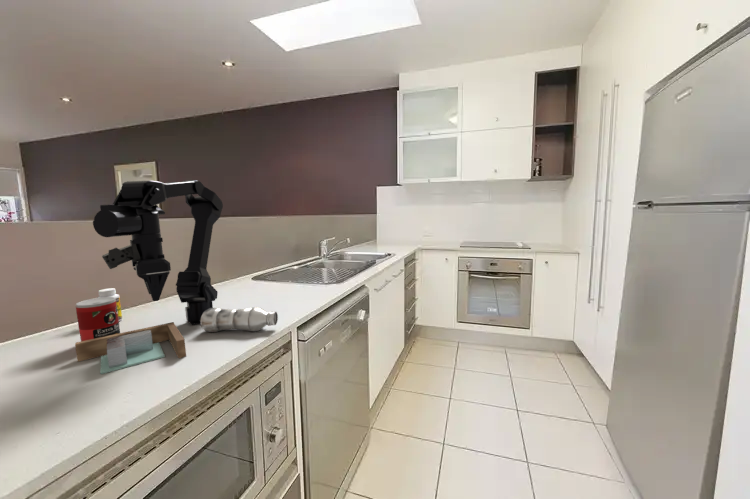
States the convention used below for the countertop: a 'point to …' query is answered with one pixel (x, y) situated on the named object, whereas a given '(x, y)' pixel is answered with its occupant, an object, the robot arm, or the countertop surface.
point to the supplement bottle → (112, 293)
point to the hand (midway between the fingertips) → (153, 297)
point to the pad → (134, 359)
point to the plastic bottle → (237, 319)
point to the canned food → (97, 318)
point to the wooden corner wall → (158, 332)
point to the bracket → (127, 347)
